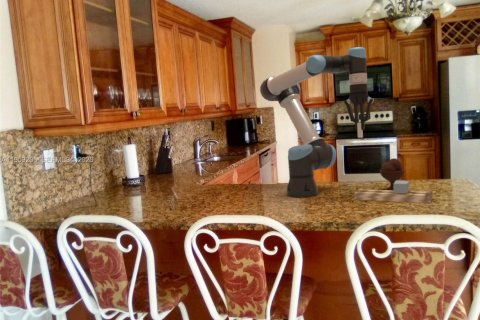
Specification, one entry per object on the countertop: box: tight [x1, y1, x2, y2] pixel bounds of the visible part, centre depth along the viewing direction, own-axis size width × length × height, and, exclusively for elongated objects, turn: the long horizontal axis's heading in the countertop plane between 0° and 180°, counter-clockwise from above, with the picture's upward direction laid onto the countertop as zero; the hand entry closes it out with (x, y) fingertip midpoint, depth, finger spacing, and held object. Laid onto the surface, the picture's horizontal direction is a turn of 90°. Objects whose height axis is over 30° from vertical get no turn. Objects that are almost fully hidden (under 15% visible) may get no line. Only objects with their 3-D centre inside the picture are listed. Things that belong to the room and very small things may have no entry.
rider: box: [393, 180, 410, 194], centre depth 171 cm, size 5×7×6 cm
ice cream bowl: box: [379, 158, 406, 191], centre depth 192 cm, size 11×11×15 cm
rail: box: [354, 188, 434, 204], centre depth 174 cm, size 30×8×4 cm, turn 58°
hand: (360, 137), depth 183 cm, fingers closed
